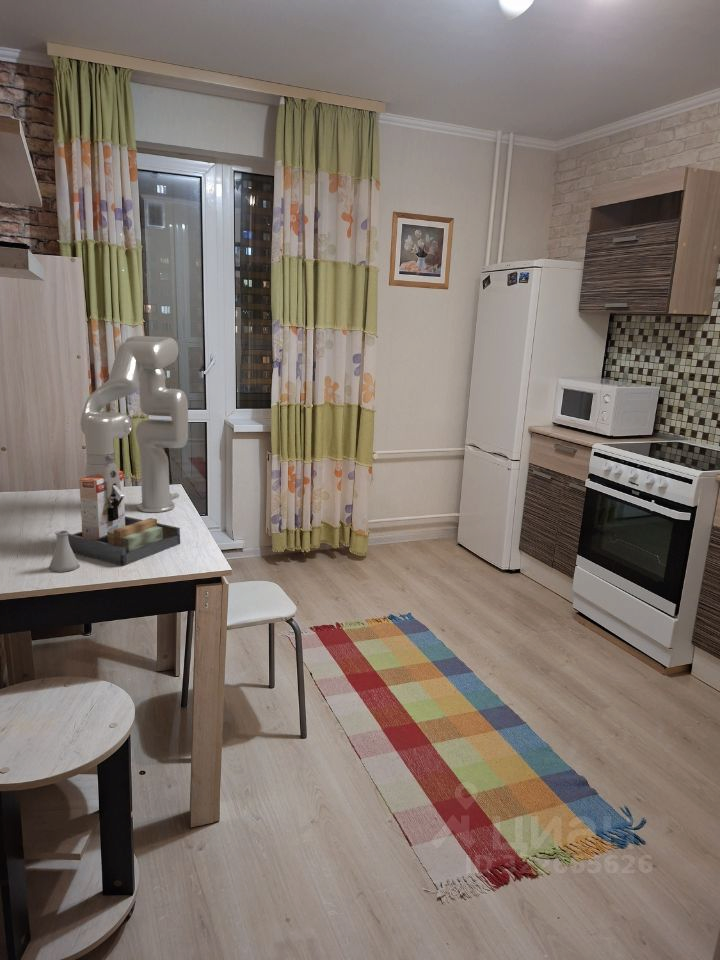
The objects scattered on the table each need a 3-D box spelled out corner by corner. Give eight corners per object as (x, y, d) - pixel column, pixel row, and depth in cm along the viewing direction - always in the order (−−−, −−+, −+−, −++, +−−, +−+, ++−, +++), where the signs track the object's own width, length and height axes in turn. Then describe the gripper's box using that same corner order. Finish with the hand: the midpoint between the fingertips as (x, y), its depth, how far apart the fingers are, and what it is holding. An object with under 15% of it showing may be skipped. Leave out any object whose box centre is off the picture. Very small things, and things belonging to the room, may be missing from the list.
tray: (117, 529, 207) (116, 514, 206) (180, 543, 196) (179, 527, 195) (57, 548, 188) (56, 532, 187) (123, 565, 177) (122, 548, 176)
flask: (60, 574, 169) (57, 538, 167) (43, 568, 173) (40, 532, 171) (85, 566, 175) (82, 531, 173) (68, 561, 179) (65, 526, 177)
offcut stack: (145, 542, 197) (144, 516, 195) (164, 546, 193) (163, 520, 192) (108, 555, 185) (107, 528, 183) (128, 560, 181) (126, 532, 180)
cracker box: (101, 551, 187) (96, 480, 183) (82, 549, 189) (77, 478, 184) (127, 536, 201) (124, 470, 196) (109, 534, 202) (105, 468, 197)
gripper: (132, 460, 188) (135, 519, 192) (90, 453, 196) (93, 510, 200) (111, 464, 182) (115, 526, 186) (68, 457, 189) (73, 516, 194)
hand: (104, 517), depth 193 cm, fingers closed on cracker box, 7 cm apart
